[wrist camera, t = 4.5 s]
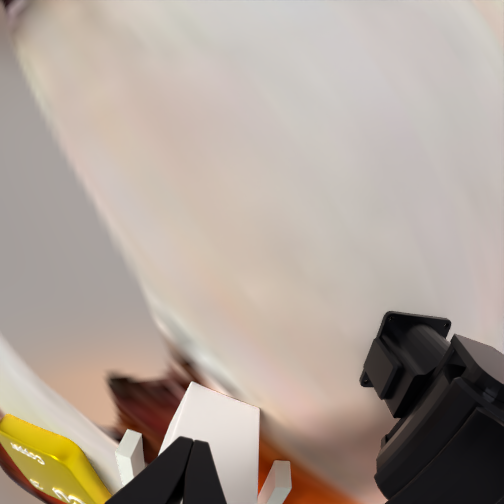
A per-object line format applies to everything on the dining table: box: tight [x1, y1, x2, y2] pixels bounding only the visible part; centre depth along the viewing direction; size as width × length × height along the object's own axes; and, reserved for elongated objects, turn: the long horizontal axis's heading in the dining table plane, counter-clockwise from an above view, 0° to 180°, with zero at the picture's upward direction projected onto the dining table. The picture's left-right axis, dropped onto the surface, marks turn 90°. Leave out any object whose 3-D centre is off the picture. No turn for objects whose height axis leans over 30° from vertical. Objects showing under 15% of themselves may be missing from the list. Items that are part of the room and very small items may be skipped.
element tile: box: [0, 414, 112, 504], centre depth 24 cm, size 15×15×5 cm
